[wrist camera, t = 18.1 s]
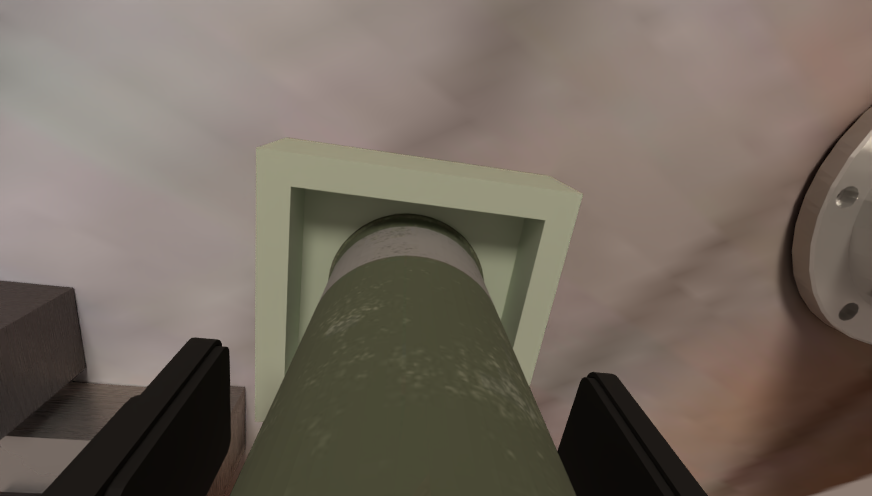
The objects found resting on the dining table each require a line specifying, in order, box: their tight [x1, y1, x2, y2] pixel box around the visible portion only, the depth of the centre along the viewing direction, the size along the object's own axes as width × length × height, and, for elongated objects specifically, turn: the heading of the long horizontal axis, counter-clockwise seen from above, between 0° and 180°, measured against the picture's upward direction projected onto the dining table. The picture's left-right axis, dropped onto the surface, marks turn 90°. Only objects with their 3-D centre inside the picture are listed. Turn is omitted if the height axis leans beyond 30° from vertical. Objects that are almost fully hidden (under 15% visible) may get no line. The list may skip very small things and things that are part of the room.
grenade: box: [230, 213, 576, 496], centre depth 9 cm, size 6×6×15 cm
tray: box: [255, 138, 583, 422], centre depth 15 cm, size 10×10×3 cm
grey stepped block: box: [0, 382, 245, 496], centre depth 16 cm, size 8×4×5 cm, turn 81°
